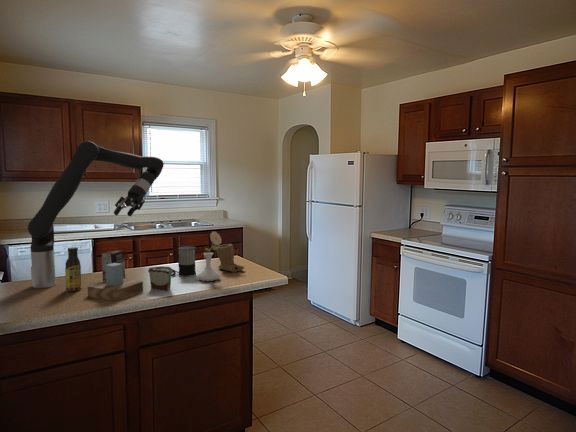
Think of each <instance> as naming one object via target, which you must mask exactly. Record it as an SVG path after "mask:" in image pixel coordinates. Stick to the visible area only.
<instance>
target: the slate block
mask: <svg viewBox="0 0 576 432" xmlns="http://www.w3.org/2000/svg"><path fill="white" fill-rule="evenodd" d="M105 270H106V285H110V286H117V285H120V284H123V264H120V263H112V264H108V265H105Z"/></svg>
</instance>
